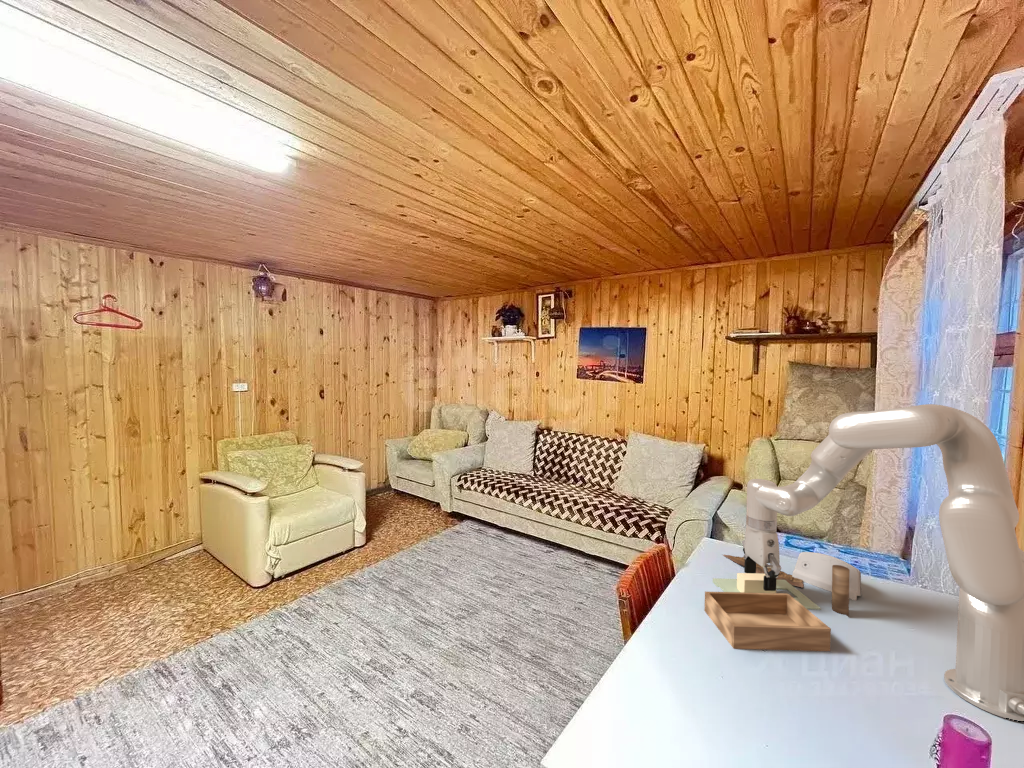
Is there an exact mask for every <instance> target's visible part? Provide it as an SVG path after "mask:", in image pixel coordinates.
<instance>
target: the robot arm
mask: <svg viewBox="0 0 1024 768" xmlns="http://www.w3.org/2000/svg"><path fill="white" fill-rule="evenodd" d="M935 445H937V446H938V448H939V449H940V453H941V454H942V456H941V457H942V465H943V470H944V474H945V478H946V482H947V488H948V489H947V490H948V495H947V496H946V497H945V498H944V499H943V500H942V502H941V504H940V506H939V509H938V510H939V511H938V519H939V520H938V521H939V525H940V531H941V535H942V540H943V545H944V548H945V554H946V558H947V564H948V568H949V570H950V574H951V576H952V578H953V580H954V582H955V583H956V584H957V586H958V587H959V593H958V608H957V625H956V626H957V628H956V631H957V632H956V633H957V634H956V651H955V654H956V655H955V668H951V669H947V670H946V671H945V672H944V675H943V677H944V683H945V684H946V685H947V686H948V688H949V689H950V690H951V691H953V693H955V695H957V696H959V697H960V698H961V699H962V700H965V701H966V702H968V703H969V704H971V705H973V706H975V707H977V708H978V709H981V710H983V711H986V712H987V713H989V714H993V715H995V716H997V717H1000V718H1004V719H1006V718H1009V719H1008V720H1010V719H1014V720H1019V721H1024V550H1023V549H1021V548H1020V546H1019V543H1018V538H1017V532H1016V527H1017V525H1018V523H1019V521H1020V513H1019V509H1018V507H1017V504H1016V501H1015V497H1014V494H1013V490H1012V486H1011V481H1010V479H1009V478H1010V477H1009V474H1008V472H1007V468H1006V464H1005V461H1004V458H1003V454H1002V450H1001V447H1000V445H999V443H998V440H997V438H996V436H995V435H994V433H993V432H992V430H991V429H990V428H989V427H988V426H987V425H986V424H985V423H984V422H983V421H982V420H980V419H979V418H977V417H975V416H974V415H972V414H970V413H968V412H966V411H963V410H961V409H958V408H955V407H950V406H946V405H942V404H935V403H934V404H931V403H929V404H927V403H926V404H925V403H924V404H918V405H912V406H904V407H895V408H889V409H878V410H871V411H870V410H869V411H860V410H859V411H850V412H845V413H842V414H839V415H838V416H836V417H834V418H833V420H832V421H831V422H830V424H829V426H828V435H827V436H826V437H824V439H823V440H822V441H821V442H820V443H819V444H818V445H817V446H816V447H815V448H814V449H813V450H812V452H811V453H810V459H811V462H810V464H809V466H808V468H807V469H806V470H805V472H804V473H803V474H802V475H801V474H800V476H799V477H798V479H796V481H794V482H793V483H790V484H787V485H785V486H778V485H777V484H776V482H773V481H772V480H768V479H762V478H752V479H749V480H748V482H747V485H746V514H745V515H746V516H745V517H746V519H745V521H746V522H745V525H746V528H745V532H744V540H741V544H742V548H743V549H742V552H743V557H744V559H746V560H745V564H744V567H743V568H744V569H743V570H744V571H743V573H756V563H757V564H759V565H760V566H762V567H763V569H764V572H765V575H766V576H764V584H763V589H764V590H765V591H776V592H777V589H776V578H778V575H779V574H780V571H782V567H781V565H780V544H779V543H780V542H779V535H778V532H777V527H778V526H777V524H778V523H777V522H778V519H777V517H778V514H780V515H782V516H785V517H794V516H798V515H801V514H802V513H804V512H807V511H809V510H811V509H814V508H815V507H816V506H817V505H819V504H820V503H821V502H822V501H823V500H824V499H825V498H826V497H827V496H828V495H829V494H830V493H831V492H832V491H833V490H835V488H836V487H837V486H838V485H839V483H840V482H841V481H842V480H844V478H845V476H847V475H848V473H850V472H851V471H852V469H854V468H855V467H856V466H857V465H858V464H859V463H860V462H861V461H862V460H863V459H864V458H865V457H866V456H867V455H869V453H870V452H872V451H873V450H884V449H885V450H888V449H904V448H905V449H907V448H908V449H909V448H910V449H911V448H912V449H913V448H923V447H924V448H925V447H930V446H931V447H932V446H935ZM766 564H768V565H766ZM767 568H771V571H770V572H768V569H767ZM1014 720H1013V721H1014Z"/></svg>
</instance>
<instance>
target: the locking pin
mask: <svg viewBox="0 0 1024 768" xmlns="http://www.w3.org/2000/svg"><path fill="white" fill-rule="evenodd" d="M849 609H850V599H849V569H848V568H847V567H844V566H840V565H833V566H832V592H831V610H832V611H833V612H834V613H836V614H839V615H842V616H847V617H849V615H850V610H849Z"/></svg>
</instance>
